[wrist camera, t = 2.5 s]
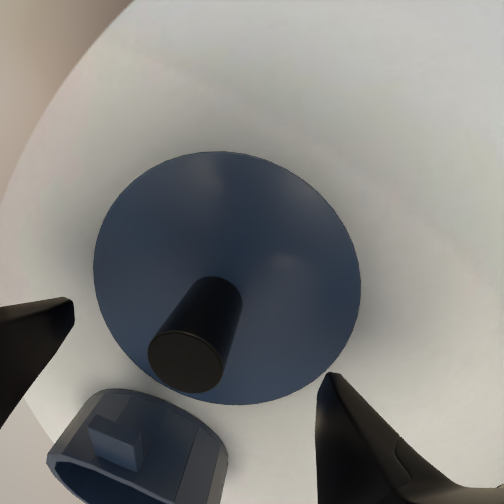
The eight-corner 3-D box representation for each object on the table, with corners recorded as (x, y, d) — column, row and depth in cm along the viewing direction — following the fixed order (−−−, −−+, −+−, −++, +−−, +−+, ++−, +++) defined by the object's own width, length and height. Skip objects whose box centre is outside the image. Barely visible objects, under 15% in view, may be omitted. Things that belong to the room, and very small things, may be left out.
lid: (106, 354, 15) (56, 412, 10) (118, 136, 12) (34, 126, 7) (308, 409, 15) (312, 488, 10) (389, 193, 11) (458, 212, 6)
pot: (102, 463, 20) (77, 508, 14) (73, 333, 15) (10, 392, 9) (213, 500, 20) (201, 554, 13) (251, 391, 15) (235, 489, 9)
